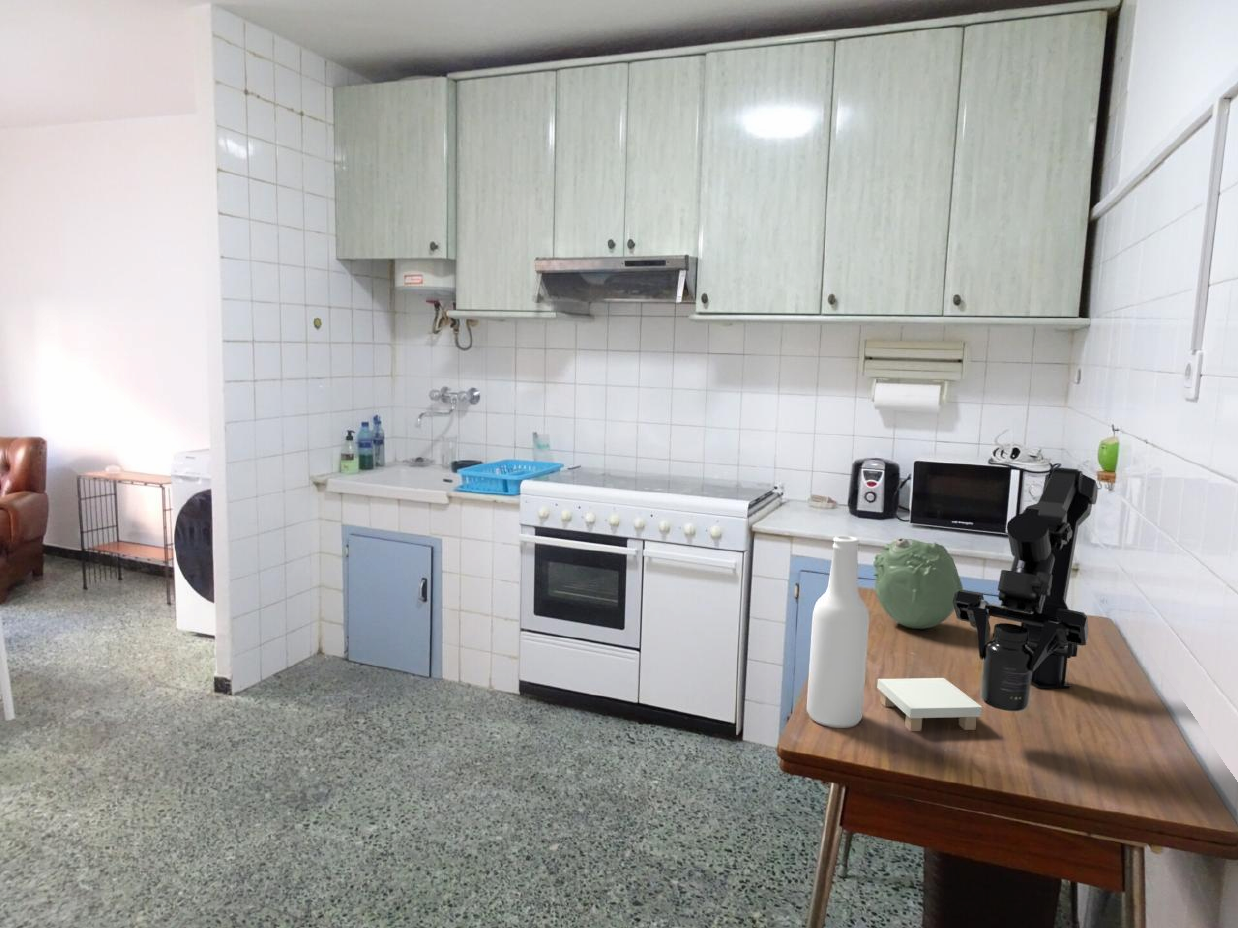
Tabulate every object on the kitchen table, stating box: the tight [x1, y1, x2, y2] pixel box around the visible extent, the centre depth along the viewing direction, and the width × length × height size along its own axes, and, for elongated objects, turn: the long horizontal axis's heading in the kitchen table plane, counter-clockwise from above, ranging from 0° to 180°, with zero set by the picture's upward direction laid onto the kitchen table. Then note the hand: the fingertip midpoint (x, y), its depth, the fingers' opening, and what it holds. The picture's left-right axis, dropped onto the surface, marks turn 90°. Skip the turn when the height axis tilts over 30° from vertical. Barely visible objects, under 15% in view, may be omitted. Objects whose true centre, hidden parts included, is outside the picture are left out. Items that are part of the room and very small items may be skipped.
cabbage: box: [872, 538, 964, 630], centre depth 181 cm, size 16×19×20 cm
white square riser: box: [876, 677, 983, 732], centre depth 136 cm, size 12×12×4 cm
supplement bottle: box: [979, 622, 1033, 712], centre depth 125 cm, size 7×7×12 cm
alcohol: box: [806, 535, 870, 729], centre depth 132 cm, size 9×9×30 cm
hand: (1005, 663), depth 124 cm, fingers closed on supplement bottle, 7 cm apart
